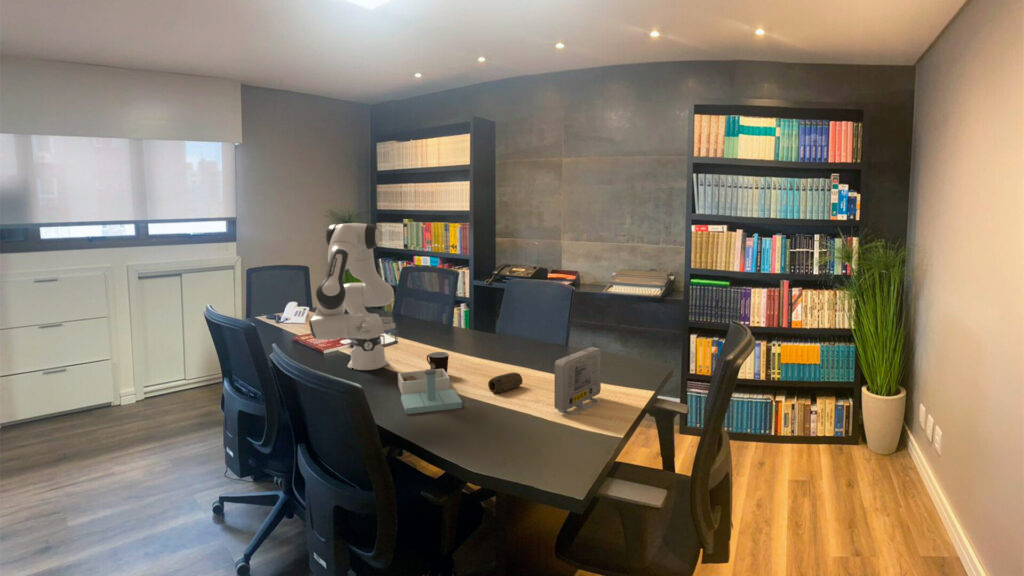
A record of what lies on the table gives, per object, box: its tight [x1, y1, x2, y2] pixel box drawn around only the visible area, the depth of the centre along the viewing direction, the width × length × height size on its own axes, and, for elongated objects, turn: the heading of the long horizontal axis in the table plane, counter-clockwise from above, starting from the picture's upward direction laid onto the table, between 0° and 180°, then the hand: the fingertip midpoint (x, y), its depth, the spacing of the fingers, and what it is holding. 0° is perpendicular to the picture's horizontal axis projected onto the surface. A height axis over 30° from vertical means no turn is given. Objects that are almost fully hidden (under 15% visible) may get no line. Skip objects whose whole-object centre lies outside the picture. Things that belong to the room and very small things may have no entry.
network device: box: [553, 346, 602, 416], centre depth 227 cm, size 26×9×20 cm, turn 141°
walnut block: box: [404, 376, 417, 381], centre depth 249 cm, size 4×4×4 cm
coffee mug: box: [426, 351, 450, 374], centre depth 265 cm, size 12×9×10 cm
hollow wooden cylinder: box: [487, 372, 523, 394], centre depth 247 cm, size 15×7×7 cm, turn 139°
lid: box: [400, 368, 464, 415], centre depth 230 cm, size 15×21×13 cm
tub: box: [397, 369, 451, 395], centre depth 248 cm, size 13×19×6 cm
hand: (393, 322), depth 229 cm, fingers open, 8 cm apart
